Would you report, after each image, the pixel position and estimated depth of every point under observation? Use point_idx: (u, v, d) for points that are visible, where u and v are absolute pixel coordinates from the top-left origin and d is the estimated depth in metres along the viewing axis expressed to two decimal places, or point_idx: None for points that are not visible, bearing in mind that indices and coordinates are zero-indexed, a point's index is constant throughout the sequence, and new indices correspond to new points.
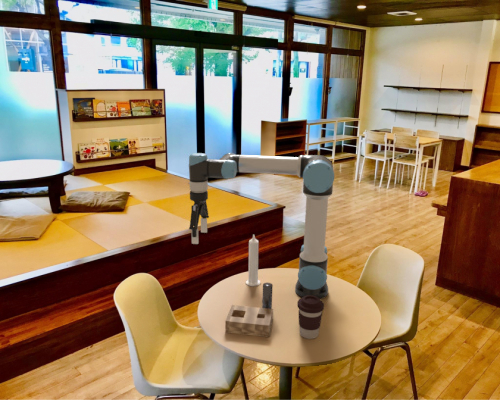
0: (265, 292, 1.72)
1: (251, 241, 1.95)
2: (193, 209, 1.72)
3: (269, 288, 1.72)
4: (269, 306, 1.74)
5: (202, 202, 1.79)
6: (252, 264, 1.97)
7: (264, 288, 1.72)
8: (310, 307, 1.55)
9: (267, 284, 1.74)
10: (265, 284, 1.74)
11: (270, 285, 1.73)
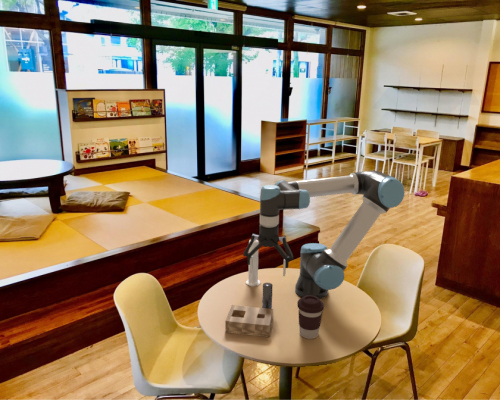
0: (265, 292, 1.72)
1: None
2: None
3: (269, 288, 1.72)
4: (269, 306, 1.74)
5: (272, 239, 1.66)
6: None
7: (264, 288, 1.72)
8: (310, 307, 1.55)
9: (267, 284, 1.74)
10: (265, 284, 1.74)
11: (270, 285, 1.73)
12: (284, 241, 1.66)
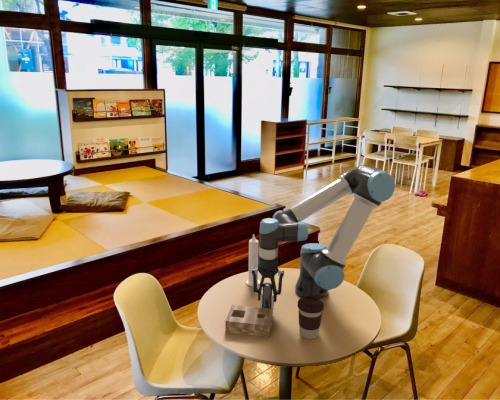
0: (265, 292, 1.72)
1: (251, 241, 1.95)
2: None
3: (269, 288, 1.72)
4: (269, 305, 1.74)
5: (272, 269, 1.70)
6: (252, 264, 1.97)
7: (264, 288, 1.72)
8: (310, 307, 1.55)
9: (267, 284, 1.74)
10: (265, 284, 1.74)
11: (270, 285, 1.73)
12: (281, 276, 1.70)
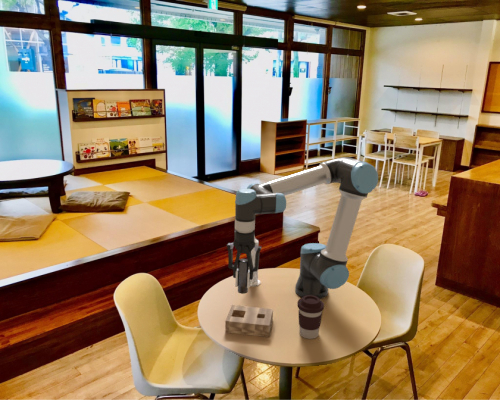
0: (241, 268, 1.61)
1: None
2: None
3: (245, 264, 1.61)
4: (245, 283, 1.63)
5: (248, 243, 1.59)
6: None
7: (240, 264, 1.61)
8: (310, 307, 1.55)
9: (243, 260, 1.63)
10: (241, 260, 1.63)
11: (246, 261, 1.62)
12: (258, 251, 1.59)
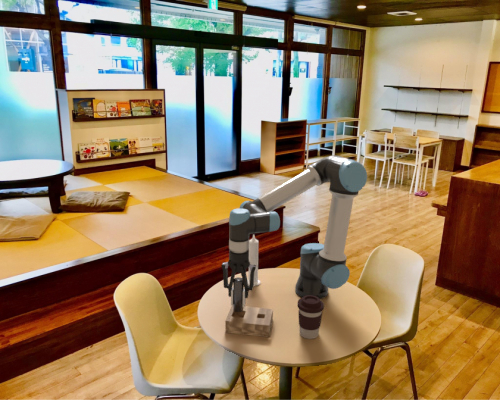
0: (236, 287, 1.61)
1: (251, 241, 1.95)
2: None
3: (240, 283, 1.61)
4: (240, 302, 1.63)
5: (242, 262, 1.59)
6: (252, 264, 1.97)
7: (235, 283, 1.61)
8: (310, 307, 1.55)
9: (238, 279, 1.63)
10: (236, 279, 1.63)
11: (241, 280, 1.62)
12: (253, 270, 1.59)
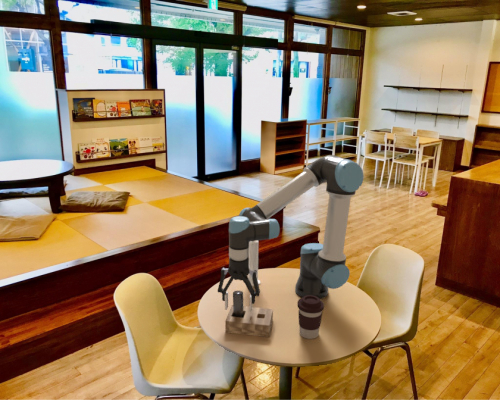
0: (235, 301, 1.63)
1: (251, 241, 1.95)
2: None
3: (240, 296, 1.63)
4: (240, 315, 1.65)
5: (242, 271, 1.60)
6: (252, 264, 1.97)
7: (234, 296, 1.63)
8: (310, 307, 1.55)
9: (237, 292, 1.65)
10: (235, 292, 1.65)
11: (240, 293, 1.64)
12: (254, 276, 1.60)
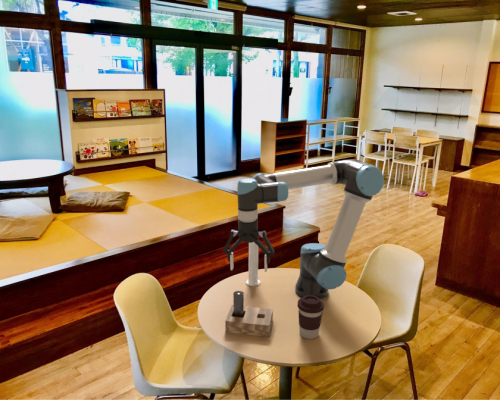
0: (236, 301, 1.63)
1: None
2: None
3: (240, 296, 1.63)
4: (240, 315, 1.65)
5: (251, 234, 1.61)
6: (252, 264, 1.97)
7: (234, 297, 1.63)
8: (310, 307, 1.55)
9: (238, 292, 1.65)
10: (236, 292, 1.65)
11: (241, 293, 1.64)
12: (264, 236, 1.61)
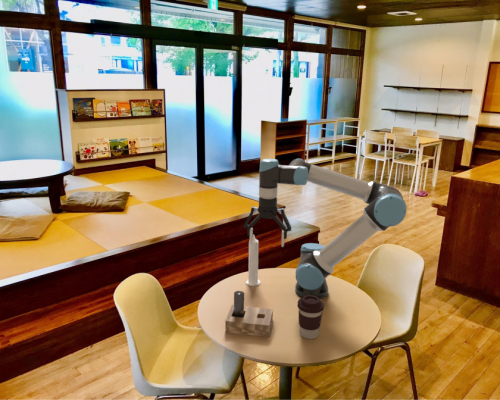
0: (236, 301, 1.63)
1: None
2: None
3: (241, 296, 1.63)
4: (240, 315, 1.65)
5: (271, 210, 1.74)
6: (252, 264, 1.97)
7: (235, 297, 1.63)
8: (310, 307, 1.55)
9: (239, 292, 1.65)
10: (236, 292, 1.64)
11: (242, 294, 1.64)
12: (282, 212, 1.73)
